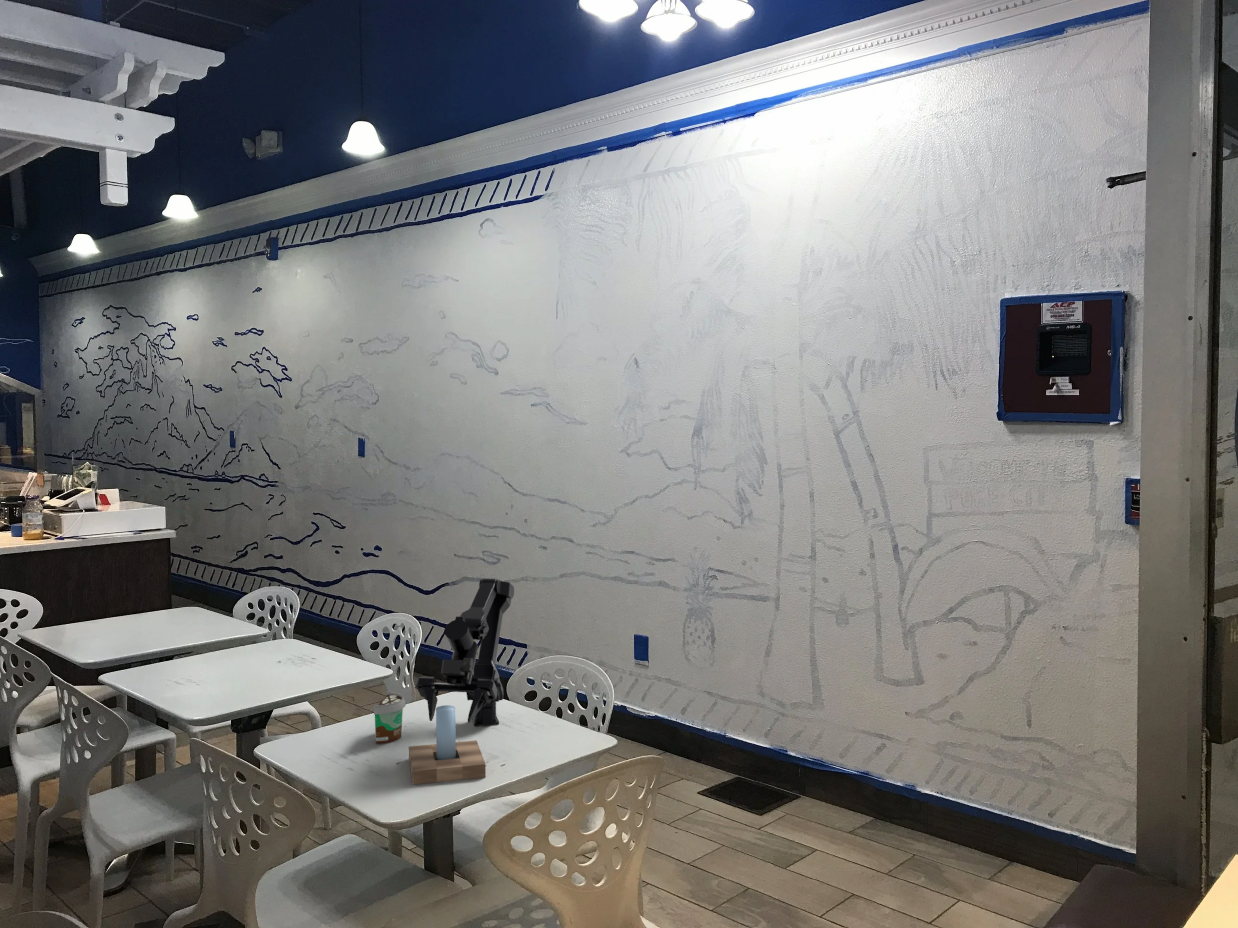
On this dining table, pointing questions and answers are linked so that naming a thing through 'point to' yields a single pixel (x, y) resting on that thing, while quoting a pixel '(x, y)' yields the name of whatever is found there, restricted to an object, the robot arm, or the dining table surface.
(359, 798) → the dining table surface
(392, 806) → the dining table surface
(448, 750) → the peg
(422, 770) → the pocket block
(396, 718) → the food container
